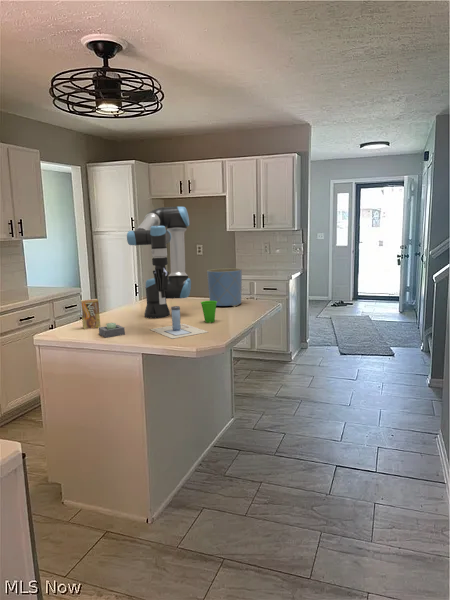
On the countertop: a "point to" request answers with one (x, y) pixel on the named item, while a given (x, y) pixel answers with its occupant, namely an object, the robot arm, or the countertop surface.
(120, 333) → the button housing
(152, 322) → the countertop surface
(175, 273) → the robot arm
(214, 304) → the cup
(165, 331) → the picture sheet
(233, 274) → the planter
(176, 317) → the blue bottle
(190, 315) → the countertop surface
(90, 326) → the candy box
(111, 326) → the button
